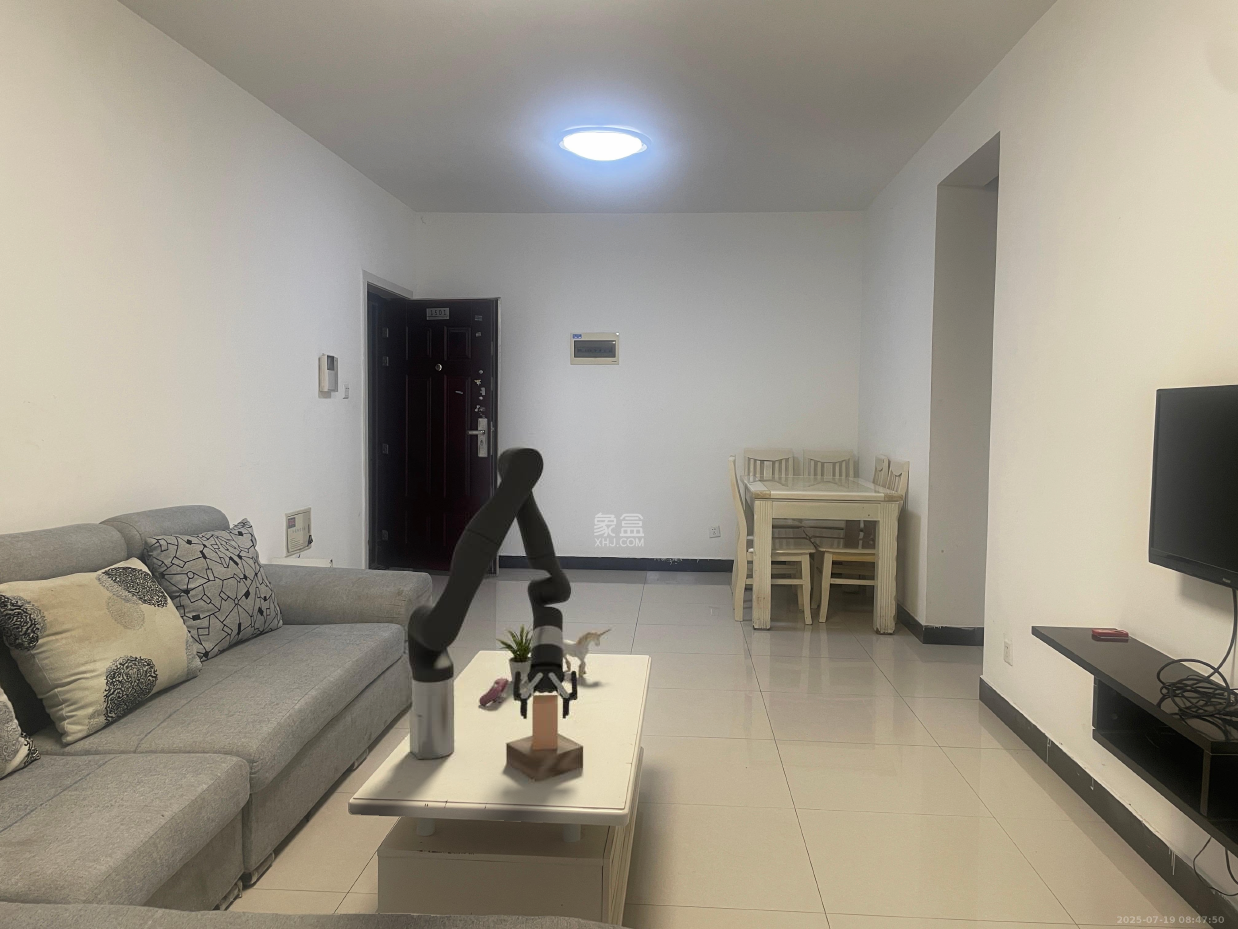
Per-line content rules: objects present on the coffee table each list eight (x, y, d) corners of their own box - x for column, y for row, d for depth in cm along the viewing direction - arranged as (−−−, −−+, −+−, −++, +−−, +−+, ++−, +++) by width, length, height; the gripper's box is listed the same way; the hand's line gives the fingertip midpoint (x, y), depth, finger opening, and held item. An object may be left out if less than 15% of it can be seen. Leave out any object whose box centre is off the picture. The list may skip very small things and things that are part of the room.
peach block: (532, 749, 170) (532, 704, 170) (533, 739, 176) (533, 695, 175) (557, 749, 171) (557, 703, 170) (557, 739, 176) (557, 694, 175)
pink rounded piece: (491, 712, 209) (503, 689, 209) (476, 703, 210) (488, 681, 209) (503, 699, 219) (514, 678, 218) (489, 691, 220) (500, 670, 219)
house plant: (532, 668, 242) (532, 615, 241) (557, 680, 231) (557, 624, 230) (490, 677, 233) (490, 622, 233) (514, 690, 222) (514, 632, 222)
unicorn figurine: (604, 679, 232) (605, 634, 231) (542, 674, 237) (542, 629, 236) (611, 672, 239) (611, 628, 238) (550, 667, 244) (550, 624, 243)
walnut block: (537, 784, 165) (537, 760, 165) (506, 765, 174) (506, 743, 174) (583, 768, 172) (583, 746, 172) (551, 751, 182) (551, 729, 181)
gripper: (515, 642, 180) (510, 710, 169) (577, 641, 181) (577, 709, 170) (517, 658, 186) (512, 725, 175) (577, 658, 186) (577, 724, 176)
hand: (544, 717), depth 172 cm, fingers open, 8 cm apart
